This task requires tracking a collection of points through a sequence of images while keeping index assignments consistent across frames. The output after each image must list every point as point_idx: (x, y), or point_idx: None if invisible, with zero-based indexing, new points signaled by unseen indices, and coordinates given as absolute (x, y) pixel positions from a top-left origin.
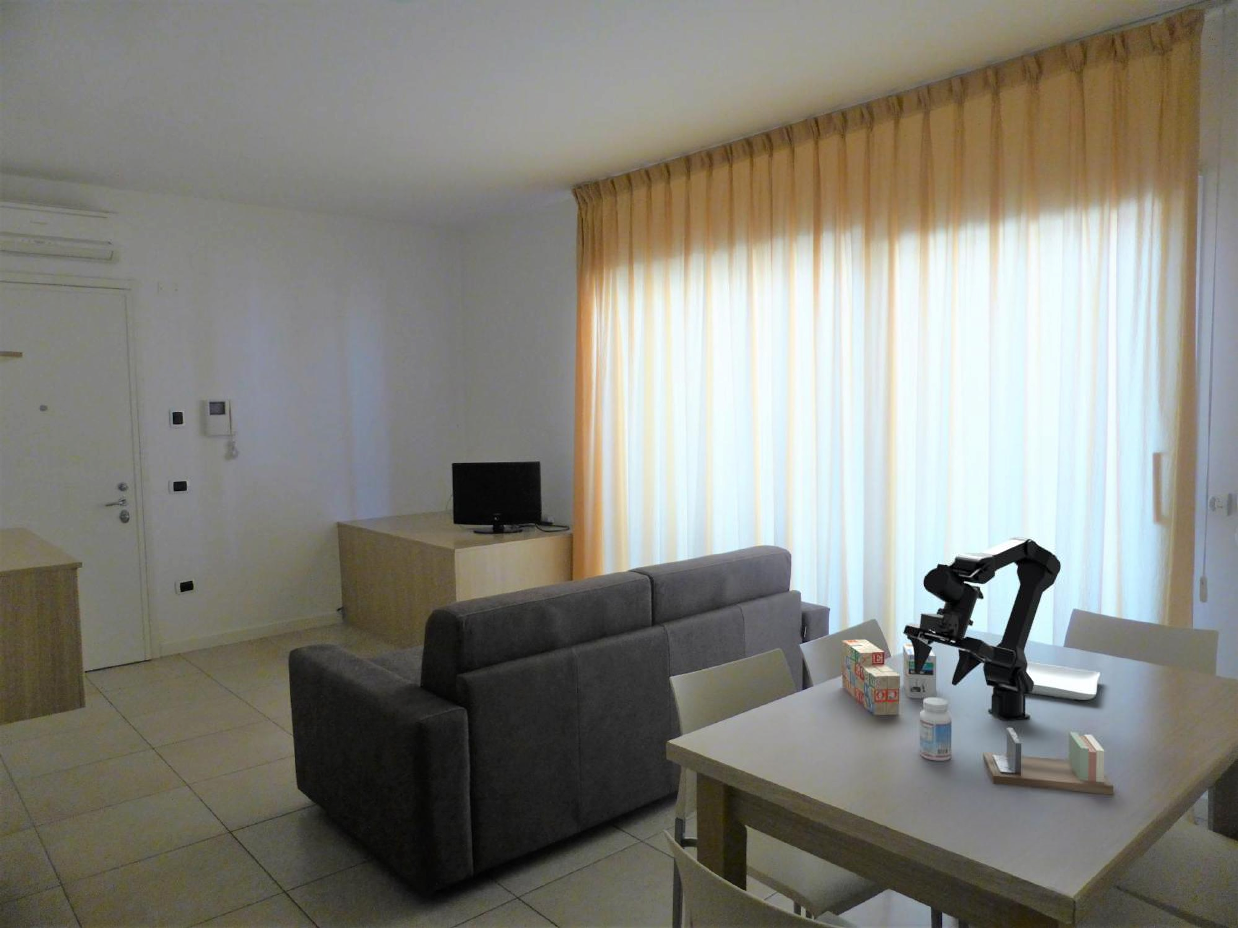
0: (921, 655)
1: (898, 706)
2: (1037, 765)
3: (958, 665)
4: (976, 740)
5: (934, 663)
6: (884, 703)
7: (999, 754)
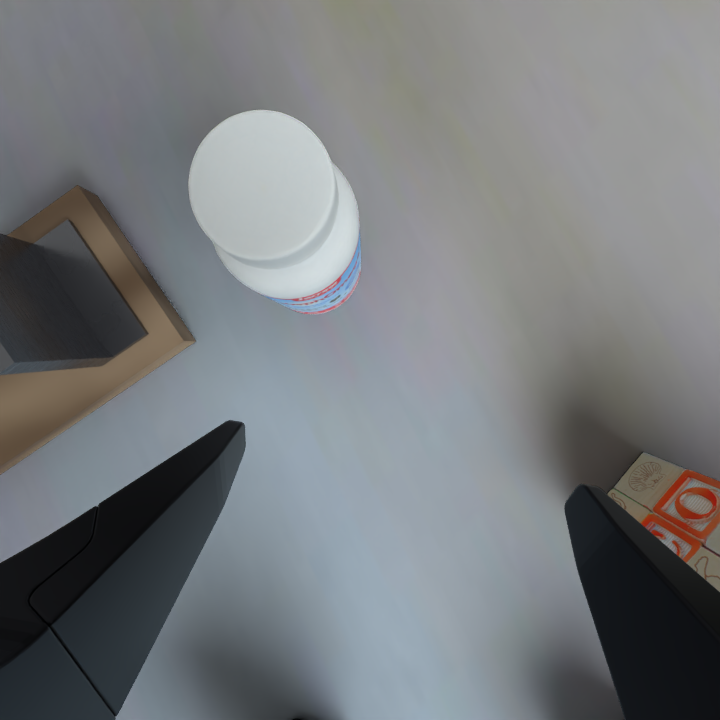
0: (700, 695)
1: None
2: None
3: (100, 543)
4: (284, 482)
5: None
6: (650, 499)
7: (142, 366)
